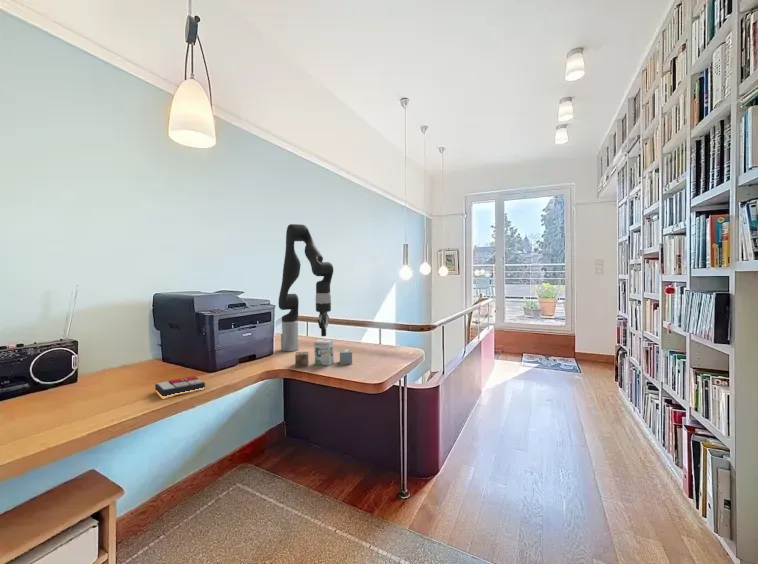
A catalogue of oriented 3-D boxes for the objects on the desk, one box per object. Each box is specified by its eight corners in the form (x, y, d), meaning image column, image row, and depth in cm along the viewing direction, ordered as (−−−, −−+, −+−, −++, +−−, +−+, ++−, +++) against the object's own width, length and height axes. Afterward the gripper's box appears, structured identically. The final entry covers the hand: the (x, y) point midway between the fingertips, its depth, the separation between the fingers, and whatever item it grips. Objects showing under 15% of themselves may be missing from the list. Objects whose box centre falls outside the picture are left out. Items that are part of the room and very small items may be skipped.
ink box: (334, 363, 177) (333, 340, 177) (329, 365, 172) (329, 342, 172) (318, 361, 180) (318, 339, 179) (314, 364, 175) (313, 341, 174)
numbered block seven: (340, 364, 175) (340, 352, 174) (339, 361, 181) (339, 349, 180) (352, 364, 176) (352, 351, 175) (351, 360, 181) (351, 349, 181)
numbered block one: (295, 367, 171) (295, 354, 171) (296, 363, 177) (296, 351, 177) (308, 366, 172) (307, 354, 172) (308, 363, 178) (308, 351, 177)
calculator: (205, 381, 141) (162, 388, 130) (205, 391, 141) (162, 400, 130) (195, 375, 148) (155, 382, 138) (195, 385, 149) (154, 392, 138)
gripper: (319, 300, 182) (320, 333, 183) (312, 303, 169) (312, 338, 169) (333, 300, 181) (334, 333, 182) (327, 303, 168) (327, 339, 169)
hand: (323, 336), depth 176 cm, fingers closed
